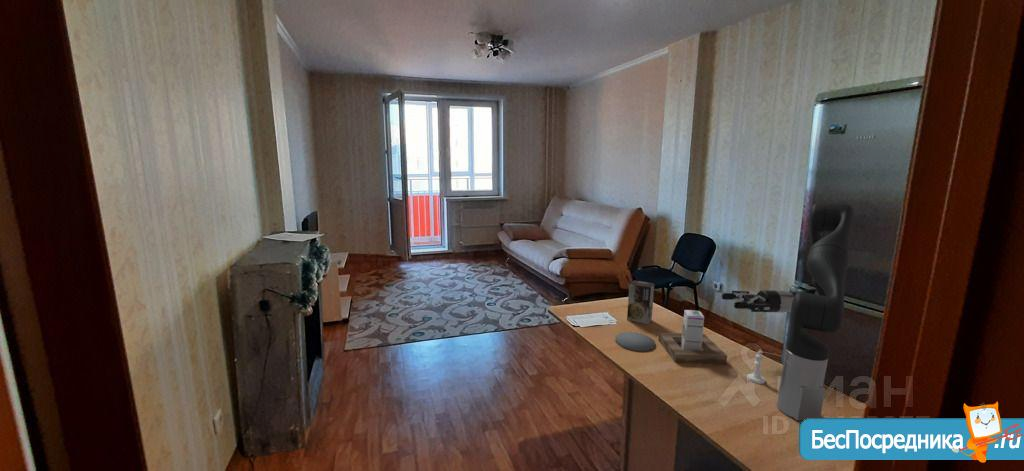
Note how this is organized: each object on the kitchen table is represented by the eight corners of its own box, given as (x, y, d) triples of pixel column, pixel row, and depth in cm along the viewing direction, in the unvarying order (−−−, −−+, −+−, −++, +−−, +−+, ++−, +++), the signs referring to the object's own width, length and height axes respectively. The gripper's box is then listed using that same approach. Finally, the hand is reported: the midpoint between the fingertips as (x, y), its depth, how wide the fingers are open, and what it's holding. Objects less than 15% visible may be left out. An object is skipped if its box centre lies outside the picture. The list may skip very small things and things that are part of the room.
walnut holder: (726, 363, 137) (727, 355, 137) (675, 362, 137) (676, 354, 137) (703, 341, 154) (704, 334, 153) (658, 340, 154) (658, 332, 154)
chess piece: (743, 377, 129) (747, 347, 127) (753, 374, 131) (758, 345, 129) (757, 385, 125) (762, 354, 123) (768, 382, 127) (773, 352, 125)
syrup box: (701, 356, 142) (705, 316, 140) (683, 354, 144) (687, 315, 141) (697, 348, 148) (701, 310, 145) (679, 346, 149) (684, 309, 146)
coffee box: (652, 319, 174) (655, 283, 171) (648, 324, 168) (651, 287, 165) (630, 315, 178) (633, 279, 175) (626, 319, 173) (629, 283, 170)
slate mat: (660, 351, 145) (660, 349, 145) (620, 350, 145) (620, 348, 145) (647, 334, 159) (648, 332, 158) (611, 333, 159) (611, 331, 159)
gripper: (764, 284, 148) (719, 283, 148) (790, 298, 134) (740, 297, 134) (761, 304, 150) (717, 303, 150) (786, 319, 136) (737, 318, 136)
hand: (728, 300), depth 142 cm, fingers open, 8 cm apart
